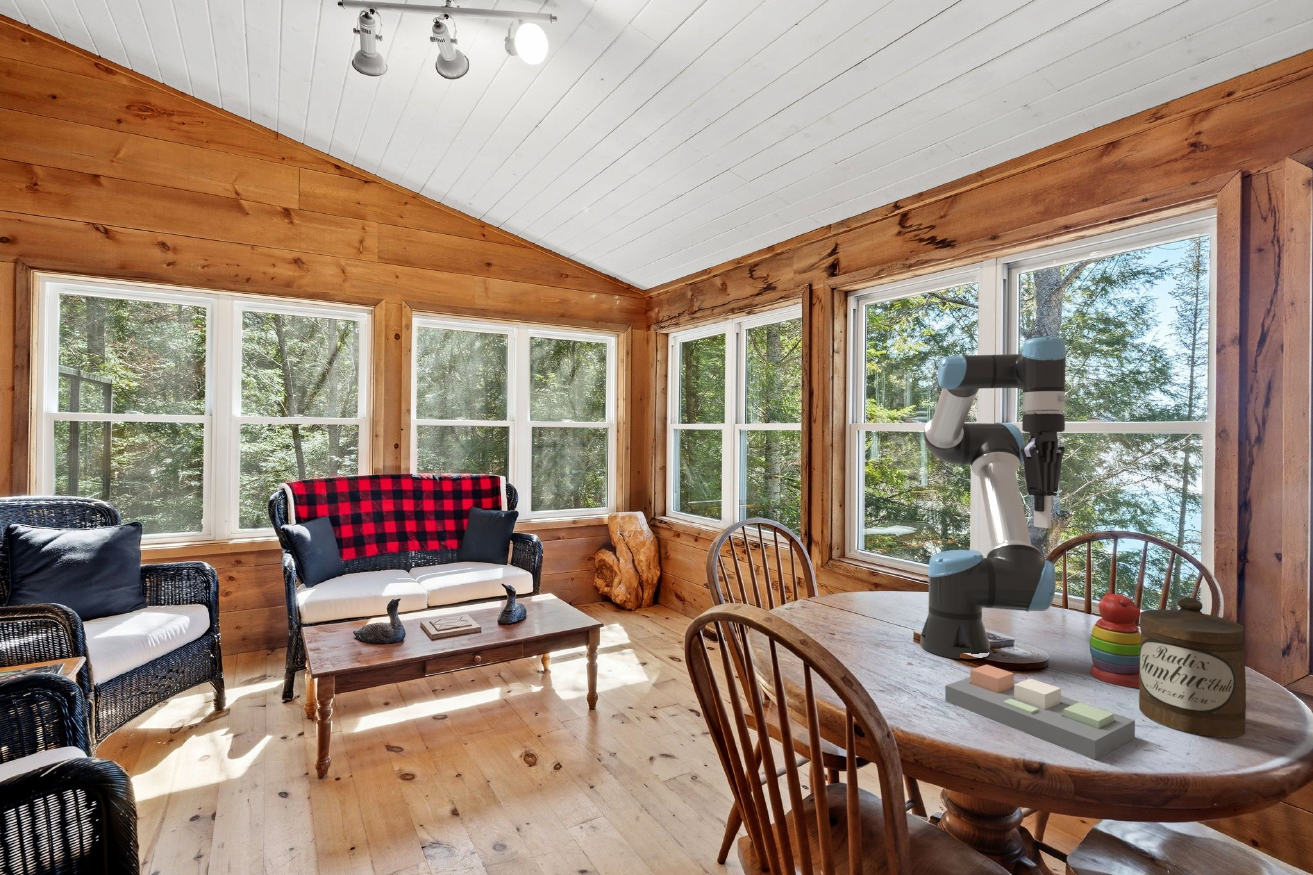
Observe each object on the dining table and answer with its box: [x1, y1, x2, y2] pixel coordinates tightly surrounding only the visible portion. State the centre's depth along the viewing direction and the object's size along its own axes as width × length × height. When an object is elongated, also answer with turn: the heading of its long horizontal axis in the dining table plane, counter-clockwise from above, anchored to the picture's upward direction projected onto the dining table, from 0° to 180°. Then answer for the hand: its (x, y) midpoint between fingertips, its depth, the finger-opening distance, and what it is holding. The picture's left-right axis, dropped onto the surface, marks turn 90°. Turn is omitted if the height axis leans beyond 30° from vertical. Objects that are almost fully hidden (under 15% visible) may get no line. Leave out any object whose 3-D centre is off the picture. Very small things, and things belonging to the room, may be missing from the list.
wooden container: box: [1138, 597, 1247, 739], centre depth 116 cm, size 15×15×22 cm
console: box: [944, 676, 1136, 760], centre depth 116 cm, size 26×14×3 cm, turn 32°
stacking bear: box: [1089, 591, 1141, 689], centre depth 135 cm, size 11×10×18 cm
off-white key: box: [1014, 678, 1062, 710], centre depth 117 cm, size 5×5×3 cm
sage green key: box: [1064, 701, 1114, 729], centre depth 109 cm, size 5×5×3 cm
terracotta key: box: [970, 664, 1015, 693], centre depth 124 cm, size 5×5×3 cm
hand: (1042, 527), depth 132 cm, fingers closed
